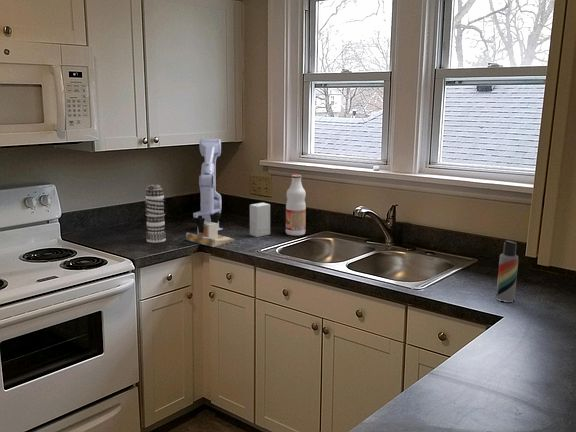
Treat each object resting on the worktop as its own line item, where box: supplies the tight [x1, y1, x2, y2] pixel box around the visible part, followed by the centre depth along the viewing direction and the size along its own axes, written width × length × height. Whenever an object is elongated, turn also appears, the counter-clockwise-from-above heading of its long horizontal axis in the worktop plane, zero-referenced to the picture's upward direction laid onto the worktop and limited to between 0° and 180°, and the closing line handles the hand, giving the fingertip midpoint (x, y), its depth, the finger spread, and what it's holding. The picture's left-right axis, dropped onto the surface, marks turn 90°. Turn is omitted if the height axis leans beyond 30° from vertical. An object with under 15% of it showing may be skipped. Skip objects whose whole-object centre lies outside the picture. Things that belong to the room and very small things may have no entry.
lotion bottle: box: [495, 240, 519, 301], centre depth 190 cm, size 6×6×20 cm
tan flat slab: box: [185, 232, 236, 248], centre depth 263 cm, size 18×14×3 cm
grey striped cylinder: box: [144, 183, 167, 244], centre depth 260 cm, size 9×9×25 cm
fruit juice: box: [285, 174, 307, 236], centre depth 277 cm, size 9×9×28 cm
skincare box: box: [249, 202, 271, 238], centre depth 274 cm, size 8×6×15 cm
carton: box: [196, 221, 219, 239], centre depth 262 cm, size 5×8×7 cm, turn 49°
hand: (207, 231), depth 262 cm, fingers open, 7 cm apart
